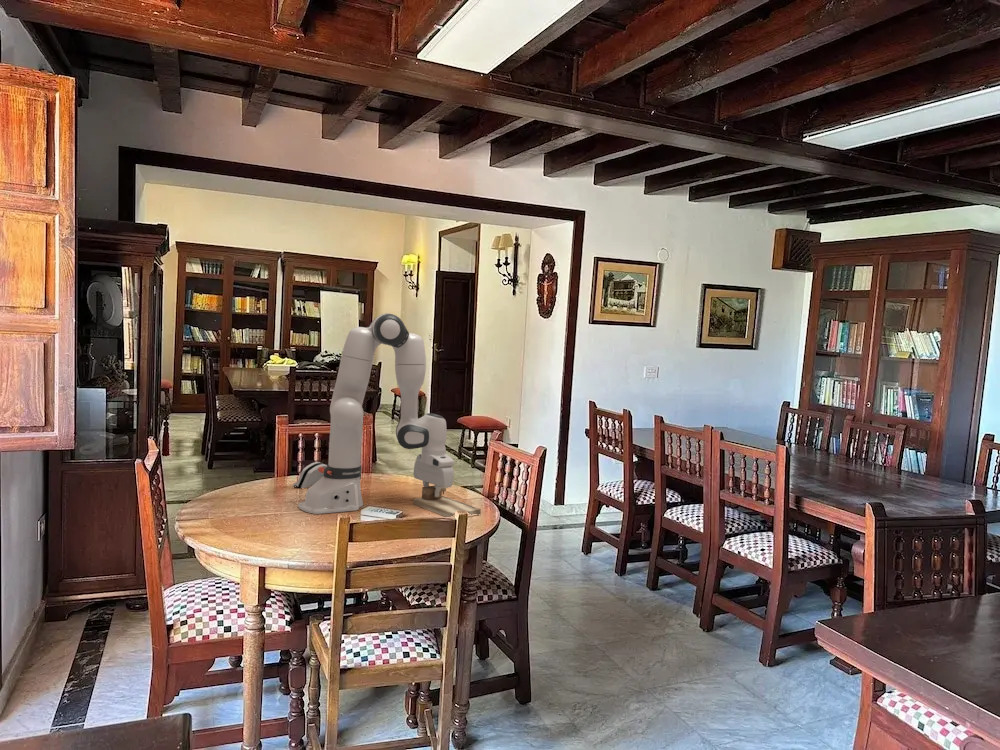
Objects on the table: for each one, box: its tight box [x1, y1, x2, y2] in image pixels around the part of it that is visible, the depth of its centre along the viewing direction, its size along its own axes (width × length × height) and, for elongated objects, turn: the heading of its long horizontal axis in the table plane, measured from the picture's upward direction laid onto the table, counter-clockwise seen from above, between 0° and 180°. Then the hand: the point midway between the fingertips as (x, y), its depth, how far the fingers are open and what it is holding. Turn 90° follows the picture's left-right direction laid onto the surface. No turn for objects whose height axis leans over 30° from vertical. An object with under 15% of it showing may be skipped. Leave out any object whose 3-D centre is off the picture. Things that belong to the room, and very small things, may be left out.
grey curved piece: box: [292, 461, 328, 489], centre depth 270 cm, size 17×5×10 cm, turn 165°
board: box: [412, 495, 482, 518], centre depth 242 cm, size 12×24×2 cm, turn 42°
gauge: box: [421, 484, 447, 500], centre depth 249 cm, size 10×4×4 cm, turn 132°
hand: (431, 495), depth 249 cm, fingers closed on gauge, 4 cm apart
